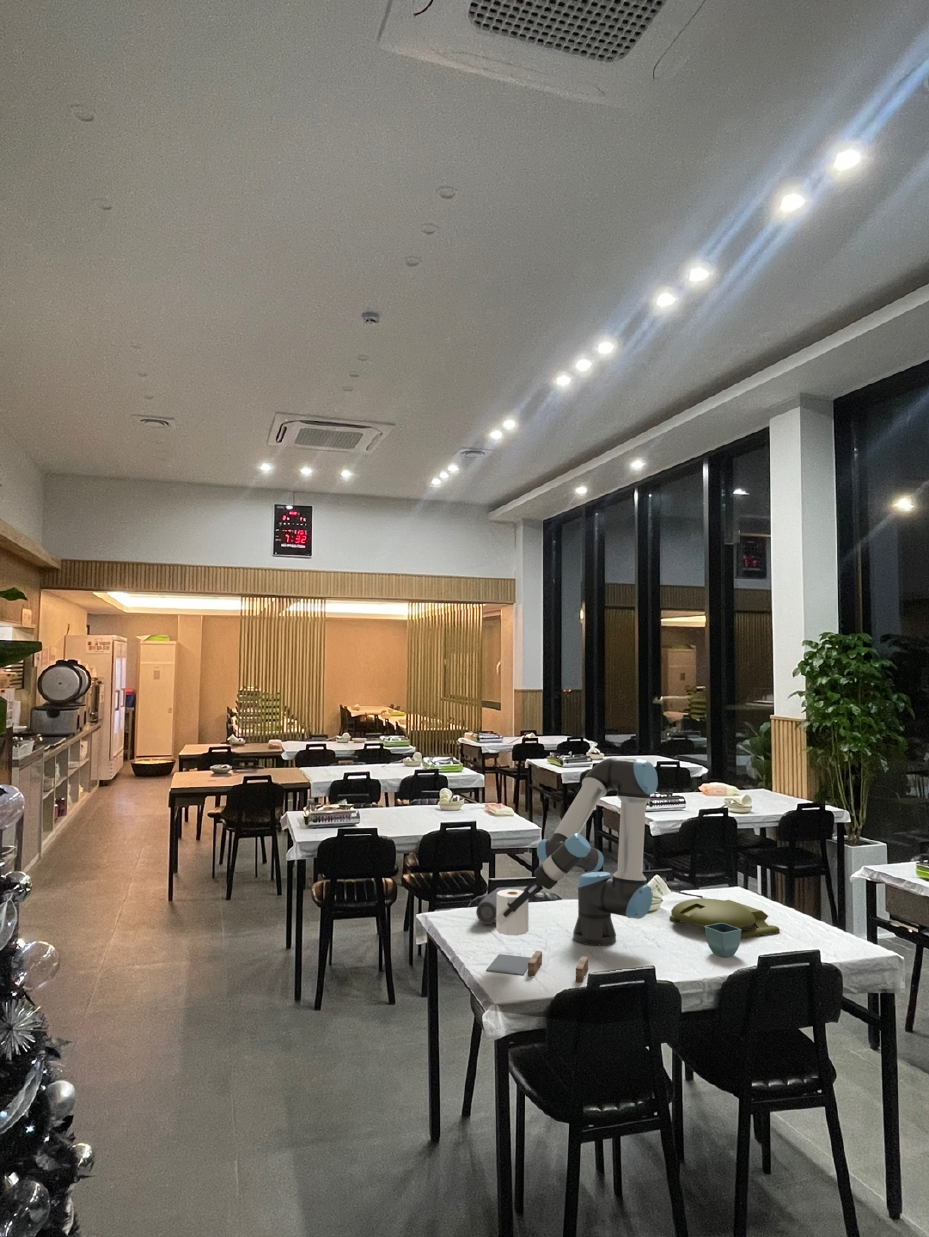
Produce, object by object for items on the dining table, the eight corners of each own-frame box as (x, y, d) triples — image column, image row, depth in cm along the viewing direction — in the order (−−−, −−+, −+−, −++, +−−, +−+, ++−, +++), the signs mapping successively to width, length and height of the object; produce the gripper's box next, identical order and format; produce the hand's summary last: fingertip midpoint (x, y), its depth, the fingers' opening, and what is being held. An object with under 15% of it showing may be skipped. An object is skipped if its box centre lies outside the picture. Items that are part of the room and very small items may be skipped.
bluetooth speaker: (498, 928, 302) (498, 901, 303) (474, 926, 305) (475, 898, 306) (513, 912, 324) (514, 887, 325) (491, 910, 327) (491, 884, 328)
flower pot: (723, 960, 270) (723, 932, 271) (704, 952, 278) (703, 925, 279) (742, 956, 274) (742, 929, 275) (722, 948, 282) (722, 922, 283)
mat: (499, 955, 273) (499, 953, 273) (534, 958, 269) (534, 957, 269) (486, 970, 257) (486, 969, 258) (523, 975, 254) (523, 973, 254)
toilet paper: (524, 925, 270) (524, 888, 271) (531, 935, 259) (531, 896, 260) (494, 926, 268) (494, 889, 269) (499, 936, 258) (499, 897, 259)
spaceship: (723, 912, 329) (723, 887, 330) (783, 933, 302) (782, 906, 303) (654, 922, 314) (654, 896, 315) (710, 945, 287) (710, 917, 287)
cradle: (536, 963, 265) (536, 950, 265) (588, 969, 260) (588, 956, 260) (527, 975, 253) (527, 962, 254) (582, 982, 248) (582, 968, 249)
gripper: (548, 890, 249) (500, 936, 253) (567, 874, 270) (522, 916, 275) (532, 870, 251) (484, 916, 256) (551, 856, 273) (507, 899, 277)
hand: (503, 916), depth 265 cm, fingers closed on toilet paper, 10 cm apart
